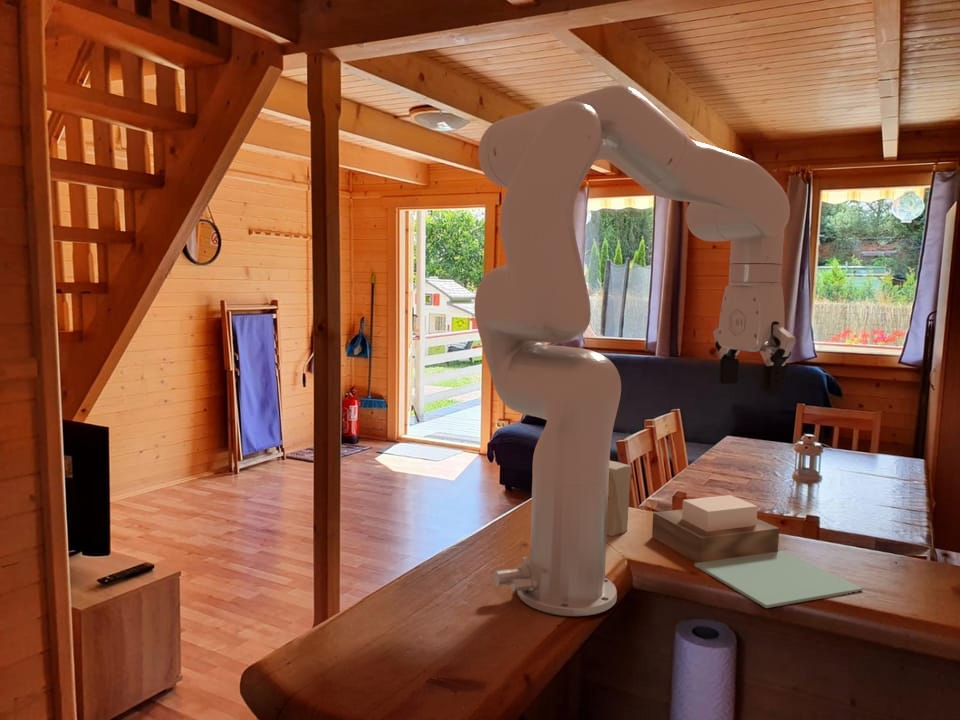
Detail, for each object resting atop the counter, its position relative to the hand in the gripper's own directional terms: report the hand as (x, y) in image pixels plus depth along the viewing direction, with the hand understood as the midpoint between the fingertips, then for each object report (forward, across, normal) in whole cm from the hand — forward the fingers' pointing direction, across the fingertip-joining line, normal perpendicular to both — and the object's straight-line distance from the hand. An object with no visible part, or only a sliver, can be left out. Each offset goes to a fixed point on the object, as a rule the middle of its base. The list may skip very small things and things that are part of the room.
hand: (748, 387), depth 110 cm
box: (+24, -9, -19) cm, 32 cm away
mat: (+24, +14, -6) cm, 29 cm away
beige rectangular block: (+19, +2, -6) cm, 20 cm away
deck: (+24, +2, -6) cm, 25 cm away
